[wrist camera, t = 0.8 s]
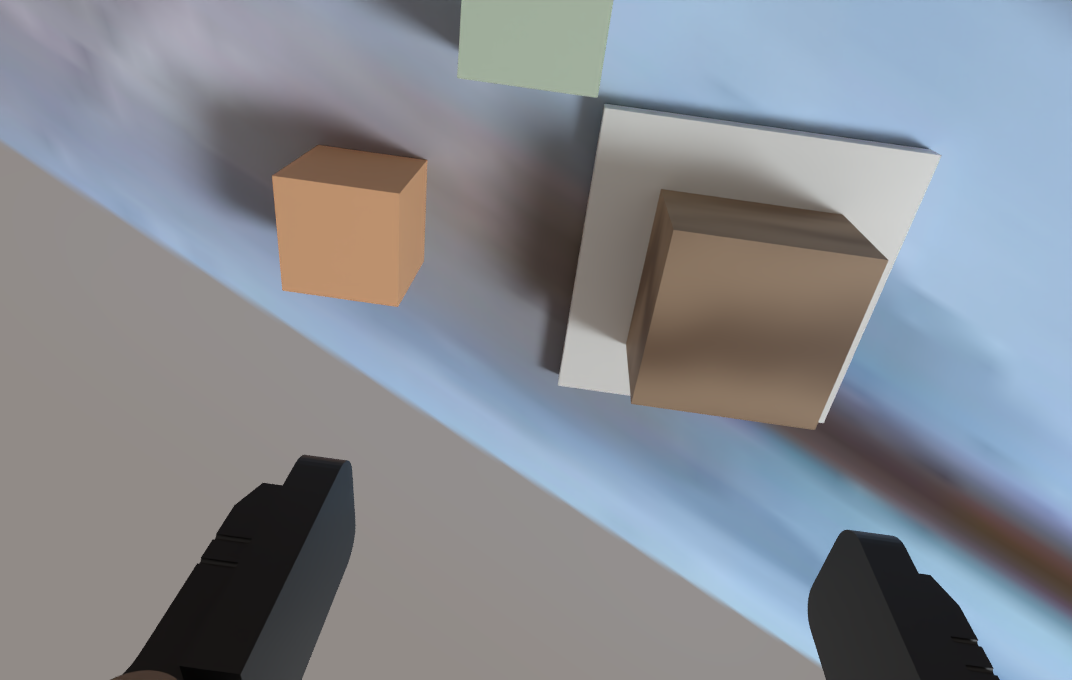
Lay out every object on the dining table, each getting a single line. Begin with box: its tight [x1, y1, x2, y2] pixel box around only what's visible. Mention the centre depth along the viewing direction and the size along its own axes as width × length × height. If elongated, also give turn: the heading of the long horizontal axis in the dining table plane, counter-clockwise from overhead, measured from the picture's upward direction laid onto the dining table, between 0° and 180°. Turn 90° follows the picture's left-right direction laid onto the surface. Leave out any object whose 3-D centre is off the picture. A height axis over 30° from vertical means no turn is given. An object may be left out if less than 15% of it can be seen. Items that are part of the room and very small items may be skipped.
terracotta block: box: [272, 145, 427, 307], centre depth 28 cm, size 5×5×5 cm
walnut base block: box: [626, 189, 889, 430], centre depth 28 cm, size 8×8×5 cm
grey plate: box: [558, 103, 942, 423], centre depth 31 cm, size 14×14×1 cm
